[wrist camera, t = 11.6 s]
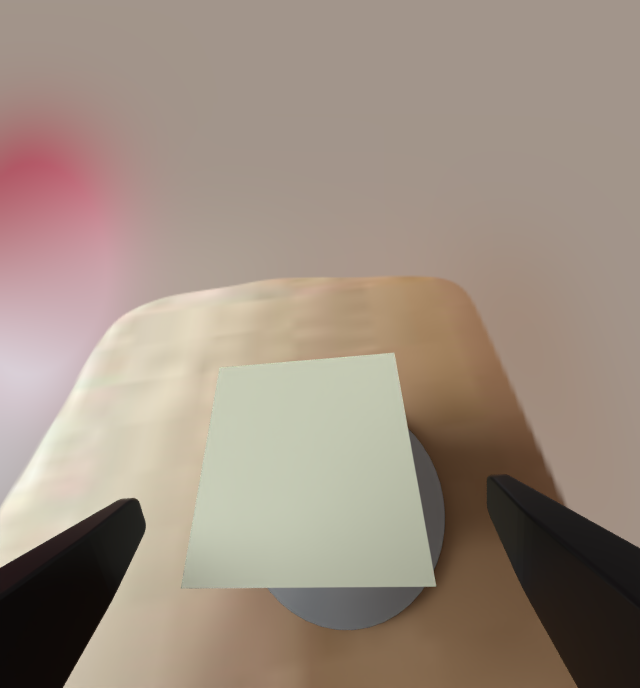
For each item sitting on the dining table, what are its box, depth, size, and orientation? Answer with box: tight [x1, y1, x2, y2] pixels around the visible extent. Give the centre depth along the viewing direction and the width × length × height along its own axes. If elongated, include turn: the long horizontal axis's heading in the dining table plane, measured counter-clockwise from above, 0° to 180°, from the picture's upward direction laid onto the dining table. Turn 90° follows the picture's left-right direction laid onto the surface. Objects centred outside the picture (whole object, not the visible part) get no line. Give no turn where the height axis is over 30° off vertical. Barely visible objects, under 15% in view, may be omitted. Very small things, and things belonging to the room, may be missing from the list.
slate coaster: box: [268, 429, 445, 630], centre depth 17 cm, size 11×11×1 cm
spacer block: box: [181, 353, 436, 588], centre depth 12 cm, size 5×5×11 cm
